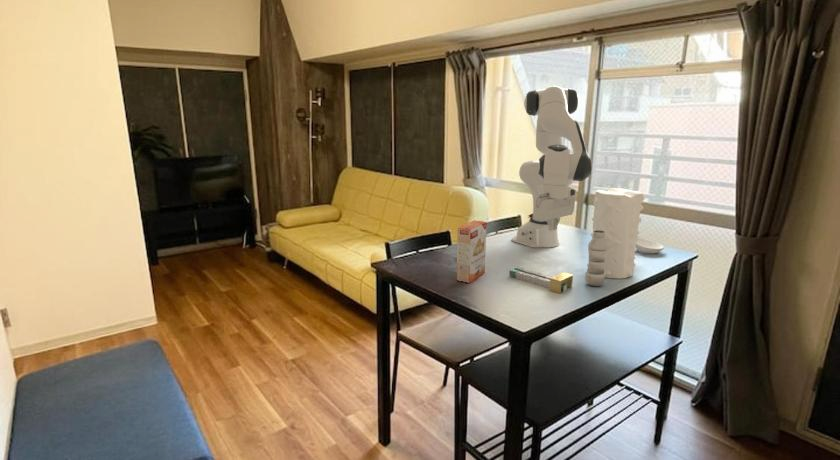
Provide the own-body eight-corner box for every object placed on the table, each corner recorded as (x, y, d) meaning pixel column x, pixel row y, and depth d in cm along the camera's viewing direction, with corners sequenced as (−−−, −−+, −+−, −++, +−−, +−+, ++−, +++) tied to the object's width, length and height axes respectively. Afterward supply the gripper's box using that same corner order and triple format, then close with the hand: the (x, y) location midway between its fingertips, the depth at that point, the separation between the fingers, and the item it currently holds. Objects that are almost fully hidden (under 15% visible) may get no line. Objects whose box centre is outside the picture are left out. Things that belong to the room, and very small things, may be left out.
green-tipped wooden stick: (568, 290, 161) (569, 282, 161) (563, 292, 159) (563, 285, 158) (514, 274, 178) (514, 267, 177) (509, 276, 175) (509, 269, 175)
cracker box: (470, 284, 168) (471, 229, 163) (456, 281, 171) (456, 227, 166) (486, 272, 180) (487, 221, 174) (472, 270, 183) (473, 219, 178)
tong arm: (553, 283, 167) (553, 276, 167) (550, 285, 166) (550, 278, 165) (517, 272, 179) (517, 266, 178) (513, 274, 177) (514, 267, 177)
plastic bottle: (581, 282, 169) (585, 229, 163) (599, 281, 169) (603, 228, 164) (589, 288, 162) (593, 234, 157) (607, 287, 163) (612, 233, 158)
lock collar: (572, 287, 164) (572, 274, 163) (559, 293, 158) (560, 281, 157) (561, 284, 167) (562, 272, 165) (549, 290, 161) (550, 278, 160)
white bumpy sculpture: (578, 268, 183) (584, 189, 175) (609, 262, 189) (616, 186, 181) (611, 282, 168) (619, 196, 160) (643, 275, 174) (653, 192, 166)
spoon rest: (667, 252, 202) (669, 236, 200) (657, 258, 194) (659, 242, 192) (613, 242, 219) (615, 227, 217) (603, 247, 211) (604, 232, 209)
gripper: (545, 196, 152) (542, 236, 155) (579, 190, 165) (576, 227, 168) (529, 194, 157) (527, 233, 160) (563, 188, 169) (561, 224, 173)
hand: (552, 230), depth 164 cm, fingers closed
